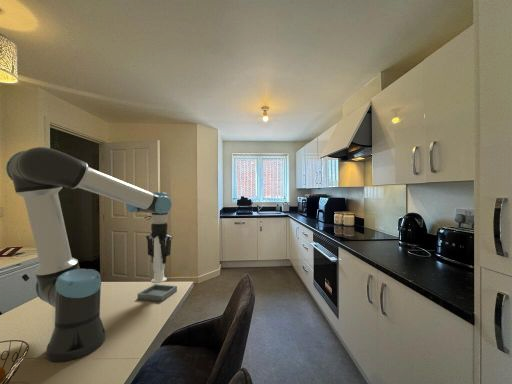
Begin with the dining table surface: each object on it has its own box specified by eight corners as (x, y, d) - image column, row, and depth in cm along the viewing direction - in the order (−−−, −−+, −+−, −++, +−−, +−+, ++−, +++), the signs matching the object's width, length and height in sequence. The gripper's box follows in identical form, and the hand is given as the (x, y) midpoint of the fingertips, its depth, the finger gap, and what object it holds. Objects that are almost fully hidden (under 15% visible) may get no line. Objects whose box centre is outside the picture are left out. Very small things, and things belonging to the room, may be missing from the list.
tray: (161, 301, 107) (162, 296, 107) (137, 299, 110) (137, 293, 110) (176, 291, 120) (177, 286, 120) (154, 288, 122) (154, 284, 123)
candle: (163, 283, 111) (162, 231, 112) (148, 283, 112) (148, 231, 112) (168, 278, 119) (168, 229, 119) (155, 278, 119) (154, 229, 119)
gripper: (178, 222, 118) (177, 268, 117) (149, 221, 121) (149, 266, 121) (170, 224, 111) (169, 273, 110) (139, 223, 114) (139, 271, 113)
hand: (158, 269), depth 115 cm, fingers closed on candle, 3 cm apart
